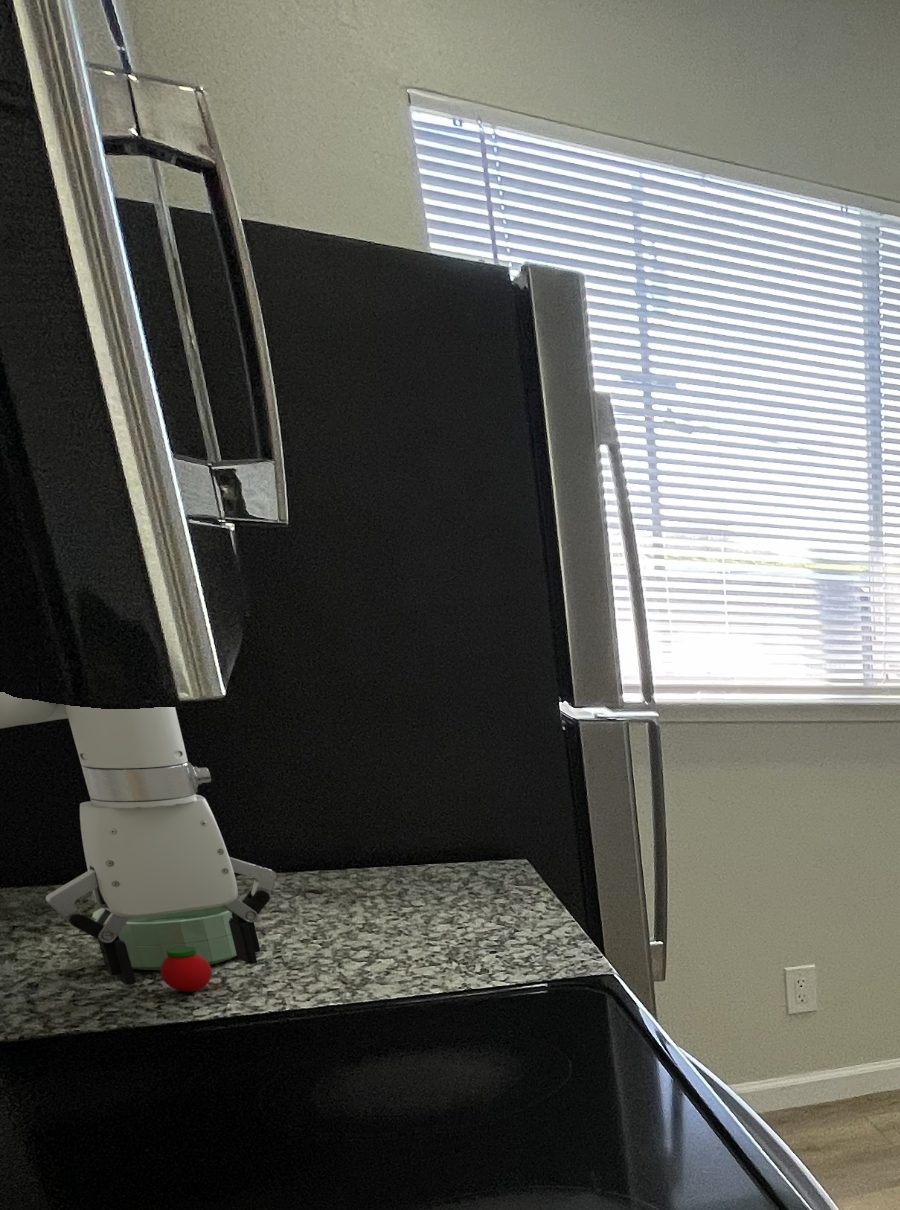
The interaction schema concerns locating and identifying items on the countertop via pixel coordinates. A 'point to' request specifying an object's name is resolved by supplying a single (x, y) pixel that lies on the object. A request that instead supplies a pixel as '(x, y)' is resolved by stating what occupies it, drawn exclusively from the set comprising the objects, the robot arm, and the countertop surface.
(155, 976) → the countertop surface
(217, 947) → the bowl
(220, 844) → the robot arm
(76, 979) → the countertop surface
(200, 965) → the tomato
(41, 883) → the countertop surface
